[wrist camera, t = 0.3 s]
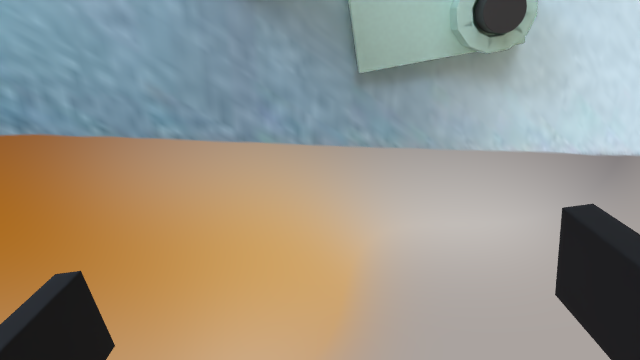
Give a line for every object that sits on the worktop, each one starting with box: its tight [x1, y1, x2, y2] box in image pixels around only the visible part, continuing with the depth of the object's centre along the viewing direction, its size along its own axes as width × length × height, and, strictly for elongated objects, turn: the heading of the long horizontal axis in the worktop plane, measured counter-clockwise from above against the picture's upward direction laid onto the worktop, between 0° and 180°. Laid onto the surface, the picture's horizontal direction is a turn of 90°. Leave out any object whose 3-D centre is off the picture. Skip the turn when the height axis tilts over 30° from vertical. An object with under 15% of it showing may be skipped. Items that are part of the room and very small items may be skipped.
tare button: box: [475, 0, 527, 34], centre depth 29 cm, size 3×3×2 cm
